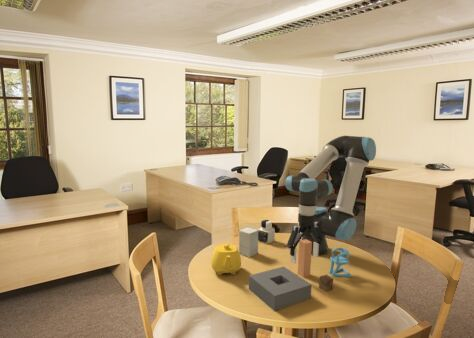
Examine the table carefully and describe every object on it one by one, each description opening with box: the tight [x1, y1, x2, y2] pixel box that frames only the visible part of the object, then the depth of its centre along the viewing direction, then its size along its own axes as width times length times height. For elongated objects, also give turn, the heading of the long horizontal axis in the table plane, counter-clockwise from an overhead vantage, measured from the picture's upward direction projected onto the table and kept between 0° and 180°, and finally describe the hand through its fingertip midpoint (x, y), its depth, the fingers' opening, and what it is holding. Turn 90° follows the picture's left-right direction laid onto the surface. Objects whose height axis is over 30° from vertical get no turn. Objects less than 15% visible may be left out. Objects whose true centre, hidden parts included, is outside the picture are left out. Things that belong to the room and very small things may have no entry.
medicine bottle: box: [257, 219, 276, 245], centre depth 196 cm, size 7×7×12 cm
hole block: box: [248, 266, 312, 311], centre depth 140 cm, size 18×18×6 cm
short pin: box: [318, 274, 334, 293], centre depth 145 cm, size 4×4×5 cm
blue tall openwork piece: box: [328, 247, 352, 278], centre depth 158 cm, size 8×8×12 cm
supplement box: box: [238, 226, 259, 258], centre depth 178 cm, size 7×7×13 cm
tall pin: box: [297, 239, 312, 278], centre depth 156 cm, size 4×4×16 cm
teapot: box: [210, 243, 242, 276], centre depth 157 cm, size 14×20×13 cm
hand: (304, 259), depth 156 cm, fingers open, 12 cm apart
